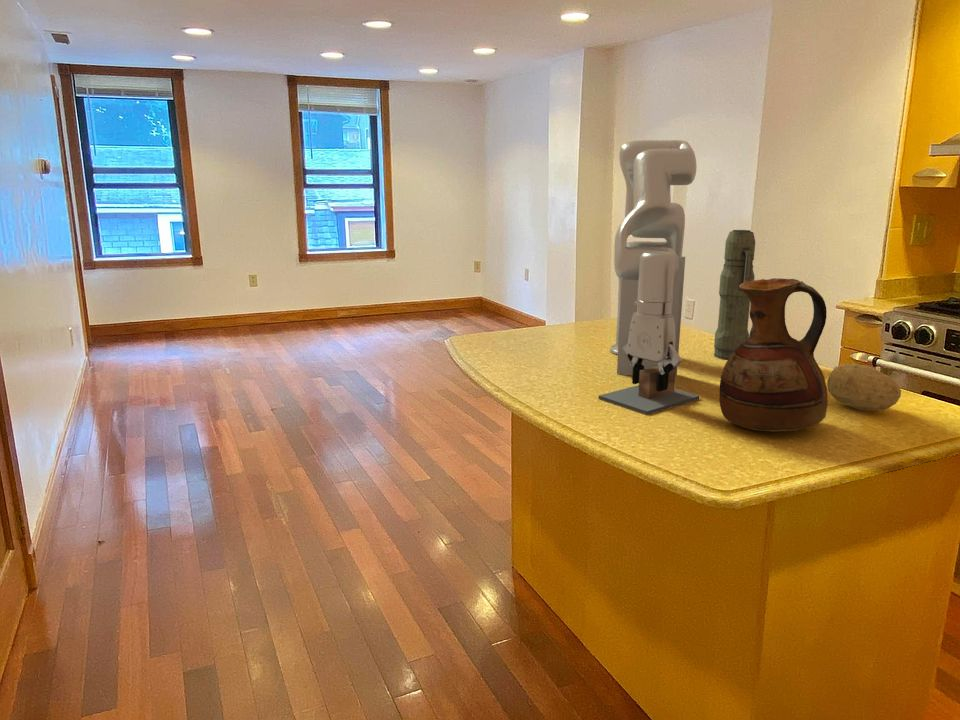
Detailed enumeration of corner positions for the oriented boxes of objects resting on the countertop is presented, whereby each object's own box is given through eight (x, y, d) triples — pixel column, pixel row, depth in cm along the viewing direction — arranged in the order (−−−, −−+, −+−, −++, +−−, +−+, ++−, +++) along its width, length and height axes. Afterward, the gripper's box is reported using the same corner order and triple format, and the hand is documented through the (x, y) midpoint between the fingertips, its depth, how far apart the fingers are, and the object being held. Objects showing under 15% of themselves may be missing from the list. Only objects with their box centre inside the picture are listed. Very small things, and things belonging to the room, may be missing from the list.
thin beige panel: (677, 374, 177) (685, 256, 169) (673, 380, 172) (681, 259, 164) (622, 368, 182) (627, 254, 175) (616, 373, 178) (622, 256, 170)
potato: (858, 397, 158) (864, 357, 155) (903, 418, 144) (910, 374, 141) (817, 399, 157) (822, 359, 154) (858, 420, 143) (865, 376, 140)
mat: (650, 385, 168) (650, 381, 167) (699, 399, 157) (699, 395, 157) (598, 398, 157) (598, 395, 157) (646, 415, 146) (647, 411, 146)
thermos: (732, 350, 201) (743, 228, 192) (756, 360, 190) (769, 231, 181) (704, 352, 199) (714, 229, 191) (727, 362, 188) (739, 232, 179)
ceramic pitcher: (705, 409, 150) (716, 271, 143) (799, 409, 150) (815, 271, 142) (734, 442, 131) (749, 285, 124) (842, 443, 131) (864, 285, 123)
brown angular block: (638, 395, 157) (639, 370, 155) (664, 388, 162) (665, 364, 160) (648, 399, 154) (650, 373, 153) (674, 391, 160) (676, 366, 158)
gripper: (613, 304, 156) (609, 380, 161) (675, 316, 143) (669, 399, 147) (635, 301, 161) (631, 375, 165) (698, 312, 147) (691, 392, 152)
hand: (649, 385), depth 156 cm, fingers open, 6 cm apart
